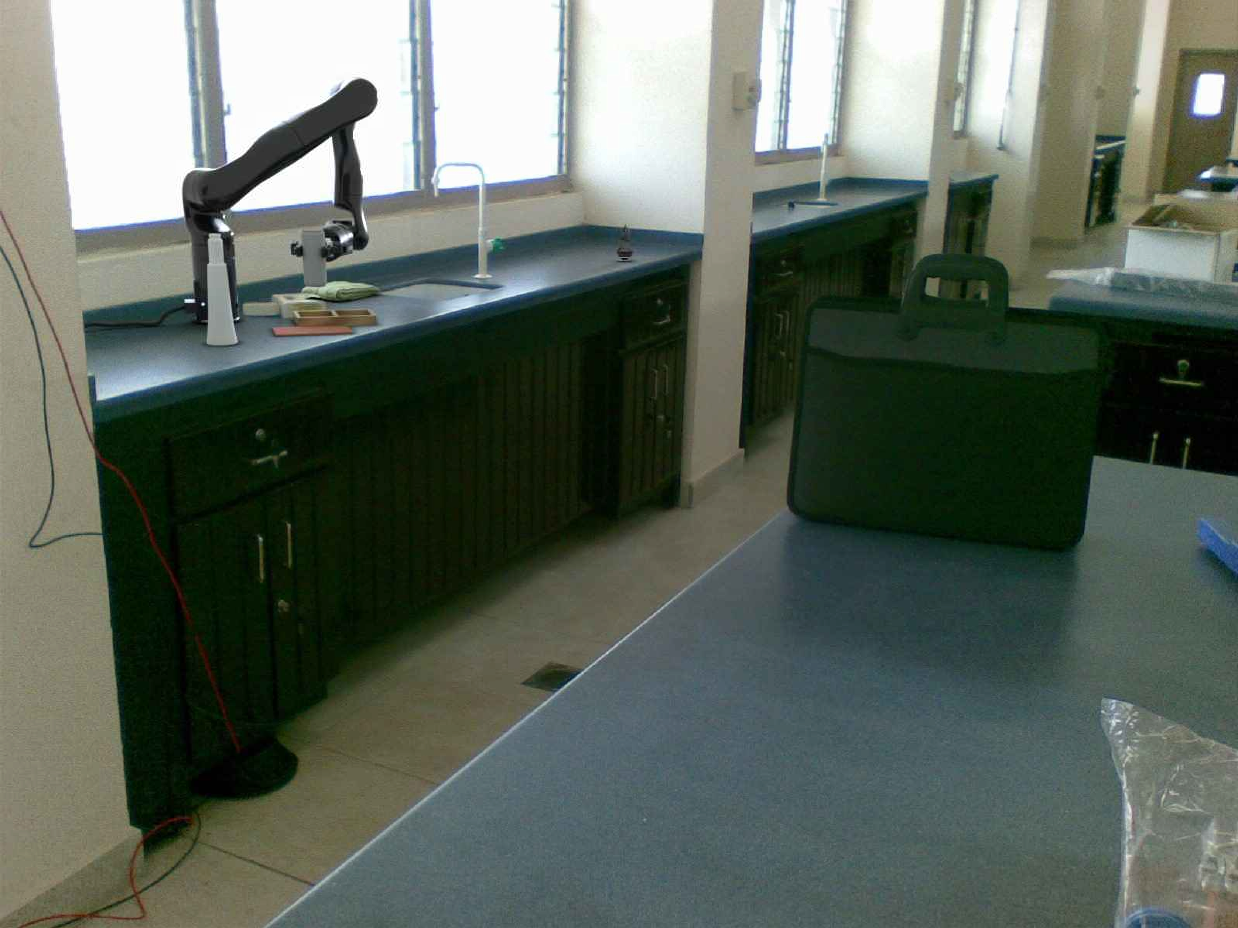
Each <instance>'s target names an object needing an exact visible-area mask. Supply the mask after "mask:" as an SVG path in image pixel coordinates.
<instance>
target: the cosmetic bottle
mask: <svg viewBox="0 0 1238 928" xmlns="http://www.w3.org/2000/svg"><path fill="white" fill-rule="evenodd" d="M209 237H210V239H208V250H209V264H207V279H208V324H207V336H206V345H209V346H213V347H214V346H215V347H225V346H227V347H228V346H233V345H237V344H238V338H237V334H236V329H235V324H234V323H235V322H233V317H232V309H231V301H230V292H229V283H228V275H227V267H226V264H225V263H224V257H223V242H222V239H220V237H221V234H209Z"/></svg>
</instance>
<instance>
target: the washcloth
mask: <svg viewBox="0 0 1238 928" xmlns="http://www.w3.org/2000/svg"><path fill="white" fill-rule="evenodd" d="M300 292H301V293H300V294H302V293H308V294H315V295H319V296H320V298H322V299H321V300H327V301H330V302H331V301H332V302H333V301H334V302H343V301H349V300H350V301H351V300H352V301H353V300H355V299H360V298H366V297H370V296H372V295H373V296H374V295H377V293H379V292H380V289H379V288H378V287H376V286H375V285H371V284H365V283H361V282H358V283H357V282H356V283H355V282H350V281H345V280H344V281H343V280H341V281H336V280H335V281H330V282H327V284H326V285H325V286H323V287H307V286H306V285H305V287H303V288H302V290H301V291H300Z"/></svg>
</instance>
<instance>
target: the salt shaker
mask: <svg viewBox="0 0 1238 928" xmlns="http://www.w3.org/2000/svg"><path fill="white" fill-rule="evenodd" d="M630 231H631V230H630V228H629V227H628V226H627V224H626V223H625V224H624V226H623V227H621V228H620V237H619V239H620V244H619V248H616V249H615V251H616V255H617V256H618V258H620V257H630V258H632V256H633V254H634V251H635V250H634V249H632V248H631V246H630V245H631V243H630V242H631V241H630V240H631V238H630V233H631V232H630ZM620 259H622V260H628V259H629V258H620Z"/></svg>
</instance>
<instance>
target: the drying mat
mask: <svg viewBox="0 0 1238 928" xmlns="http://www.w3.org/2000/svg"><path fill="white" fill-rule="evenodd" d="M272 331H273V334H274V335H275V337H276V338H277V337H303V336H307V337H308V336H327V335H328V336H330V335H331V336H333V335H336V336H337V335H353V334H354V332H353V330H352V329H351V328H350V326H348V325H333V326H301V327H297V326H276V327H275V326H274V327H272Z"/></svg>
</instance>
